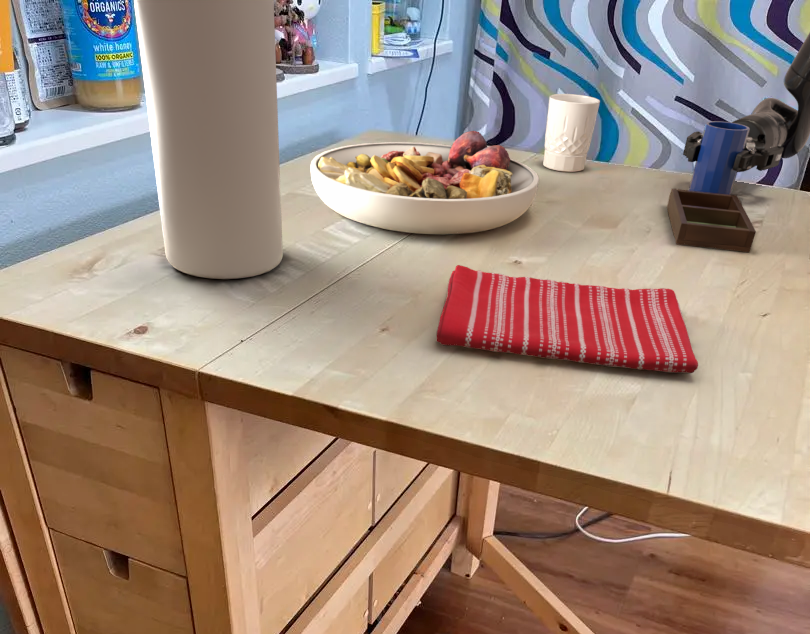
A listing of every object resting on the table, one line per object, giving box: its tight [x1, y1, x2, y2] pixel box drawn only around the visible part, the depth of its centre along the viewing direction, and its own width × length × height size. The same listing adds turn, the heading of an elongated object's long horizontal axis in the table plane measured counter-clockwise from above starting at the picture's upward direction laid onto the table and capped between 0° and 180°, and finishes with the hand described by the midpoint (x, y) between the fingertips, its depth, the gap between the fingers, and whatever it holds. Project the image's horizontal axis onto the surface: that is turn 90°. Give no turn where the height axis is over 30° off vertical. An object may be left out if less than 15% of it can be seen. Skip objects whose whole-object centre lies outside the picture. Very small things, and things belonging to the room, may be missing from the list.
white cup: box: [542, 93, 601, 173], centre depth 129 cm, size 8×8×10 cm
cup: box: [688, 120, 750, 195], centre depth 118 cm, size 6×6×10 cm
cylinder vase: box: [133, 0, 284, 280], centre depth 81 cm, size 12×12×25 cm
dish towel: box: [436, 264, 699, 374], centre depth 78 cm, size 17×24×3 cm
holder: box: [666, 188, 757, 253], centre depth 108 cm, size 9×17×3 cm, turn 169°
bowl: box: [310, 130, 540, 235], centre depth 107 cm, size 30×30×8 cm
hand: (714, 158), depth 116 cm, fingers closed on cup, 6 cm apart
